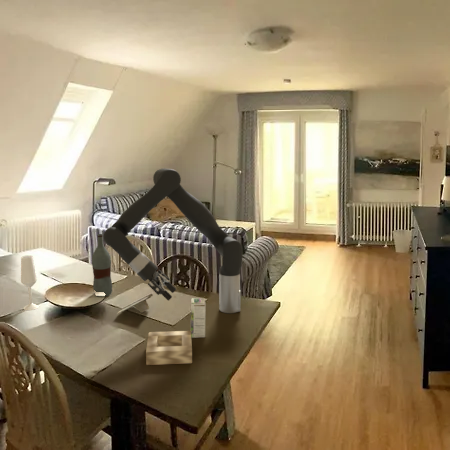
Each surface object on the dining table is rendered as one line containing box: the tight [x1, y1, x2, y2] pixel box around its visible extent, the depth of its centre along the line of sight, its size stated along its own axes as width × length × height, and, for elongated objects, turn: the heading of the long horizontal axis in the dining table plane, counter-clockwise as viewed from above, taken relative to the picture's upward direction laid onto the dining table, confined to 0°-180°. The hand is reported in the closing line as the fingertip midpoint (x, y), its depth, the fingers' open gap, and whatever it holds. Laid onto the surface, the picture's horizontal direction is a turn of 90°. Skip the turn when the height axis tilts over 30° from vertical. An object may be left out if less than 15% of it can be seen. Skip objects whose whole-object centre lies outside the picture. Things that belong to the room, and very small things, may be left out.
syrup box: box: [190, 297, 206, 339], centre depth 194 cm, size 6×6×14 cm
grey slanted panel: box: [116, 291, 154, 315], centre depth 217 cm, size 16×9×15 cm
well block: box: [145, 330, 193, 366], centre depth 180 cm, size 16×16×5 cm
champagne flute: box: [20, 255, 40, 311], centre depth 221 cm, size 7×7×24 cm
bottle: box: [91, 233, 113, 297], centre depth 237 cm, size 9×9×30 cm
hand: (172, 294), depth 193 cm, fingers open, 8 cm apart
